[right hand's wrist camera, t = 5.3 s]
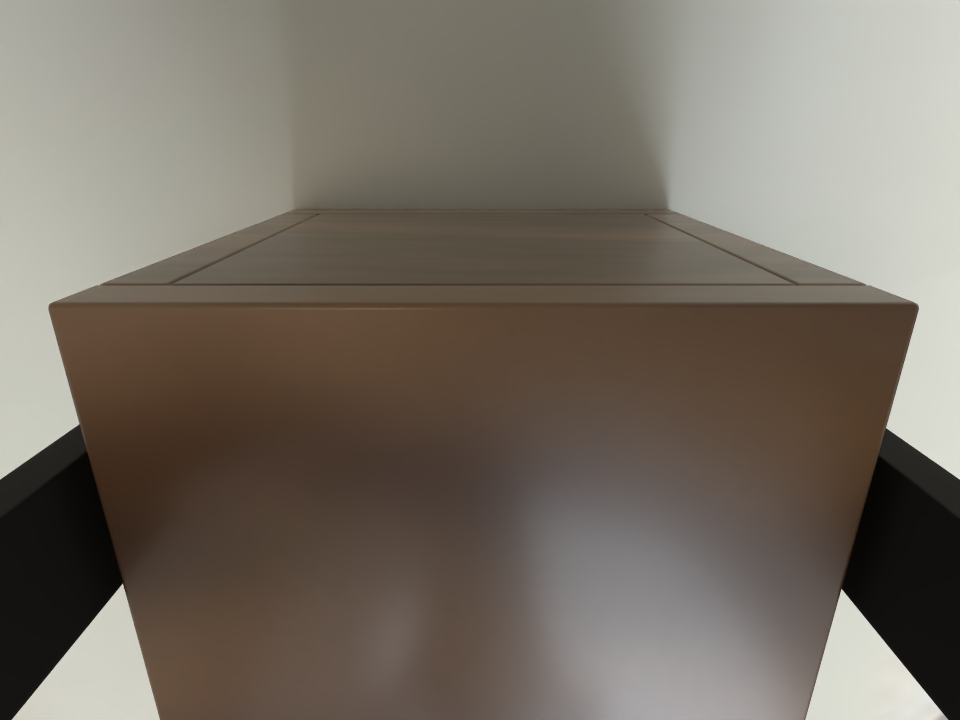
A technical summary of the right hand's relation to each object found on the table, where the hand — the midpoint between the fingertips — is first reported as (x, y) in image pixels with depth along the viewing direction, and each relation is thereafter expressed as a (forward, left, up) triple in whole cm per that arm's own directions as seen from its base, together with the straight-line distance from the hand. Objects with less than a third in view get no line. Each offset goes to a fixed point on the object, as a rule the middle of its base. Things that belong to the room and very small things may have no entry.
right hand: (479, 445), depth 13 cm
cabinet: (+3, +4, -8) cm, 9 cm away
